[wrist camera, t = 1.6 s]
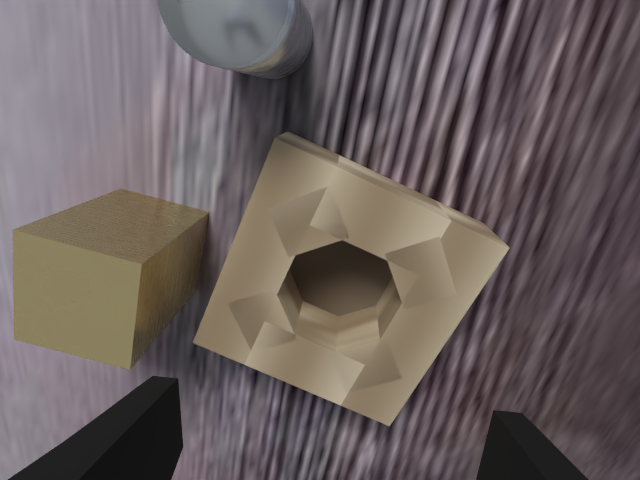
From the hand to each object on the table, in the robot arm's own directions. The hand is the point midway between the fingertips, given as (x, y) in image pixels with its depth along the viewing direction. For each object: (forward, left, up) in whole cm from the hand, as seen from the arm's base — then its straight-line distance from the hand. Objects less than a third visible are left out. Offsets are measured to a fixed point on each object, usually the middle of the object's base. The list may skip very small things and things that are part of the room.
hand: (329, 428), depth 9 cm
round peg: (+7, -8, -9) cm, 14 cm away
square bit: (+8, +2, -10) cm, 13 cm away
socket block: (0, 0, -9) cm, 9 cm away
